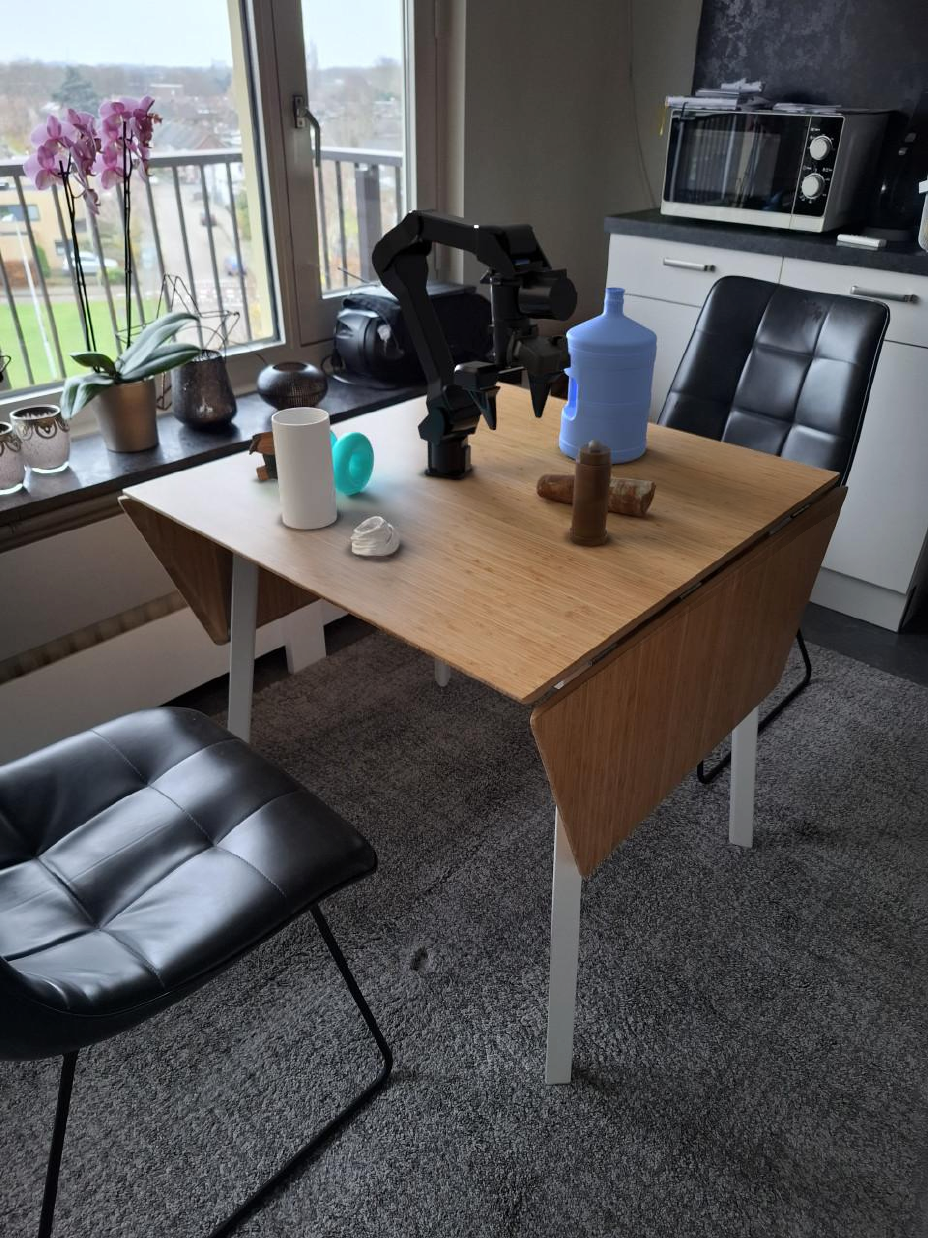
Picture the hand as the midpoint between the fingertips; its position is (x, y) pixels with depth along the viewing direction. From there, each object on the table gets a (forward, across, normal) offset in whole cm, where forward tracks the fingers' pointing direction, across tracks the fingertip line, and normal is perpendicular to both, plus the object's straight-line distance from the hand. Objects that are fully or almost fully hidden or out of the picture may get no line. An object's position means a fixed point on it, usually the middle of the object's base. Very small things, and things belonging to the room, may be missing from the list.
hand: (516, 423), depth 135 cm
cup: (+11, -30, +14) cm, 35 cm away
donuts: (+10, -20, +22) cm, 32 cm away
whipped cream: (+12, -28, -1) cm, 31 cm away
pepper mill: (+14, -1, -16) cm, 22 cm away
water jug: (+12, +27, +8) cm, 31 cm away
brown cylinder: (+14, +7, -9) cm, 18 cm away
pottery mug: (+9, -24, +34) cm, 42 cm away
